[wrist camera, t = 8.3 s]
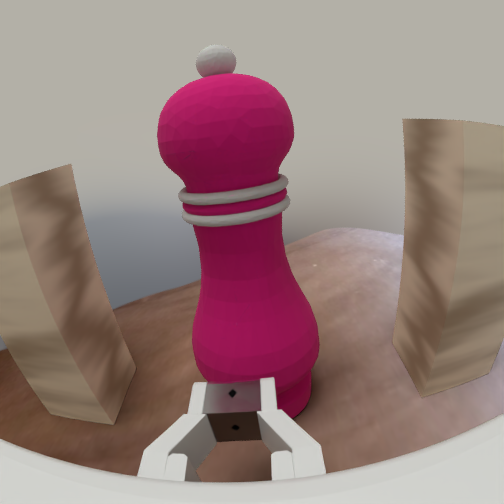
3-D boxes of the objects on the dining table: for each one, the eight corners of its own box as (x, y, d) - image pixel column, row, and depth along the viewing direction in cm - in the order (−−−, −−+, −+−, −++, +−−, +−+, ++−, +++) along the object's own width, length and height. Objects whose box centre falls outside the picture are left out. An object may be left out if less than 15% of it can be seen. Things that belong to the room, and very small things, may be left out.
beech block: (113, 424, 17) (9, 183, 11) (50, 414, 17) (-47, 208, 11) (137, 365, 22) (73, 163, 16) (79, 363, 23) (13, 184, 17)
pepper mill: (190, 418, 17) (98, 62, 10) (235, 350, 23) (189, 71, 16) (302, 445, 14) (263, 0, 7) (328, 363, 21) (309, 47, 13)
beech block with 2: (488, 373, 15) (537, 132, 9) (421, 397, 16) (462, 120, 10) (452, 325, 21) (472, 123, 15) (390, 340, 21) (400, 118, 15)
